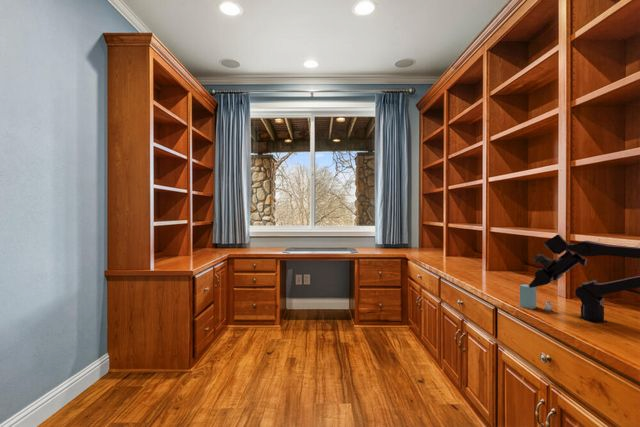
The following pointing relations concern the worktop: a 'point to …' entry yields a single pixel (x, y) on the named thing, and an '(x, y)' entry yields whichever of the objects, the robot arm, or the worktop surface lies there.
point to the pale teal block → (528, 296)
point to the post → (548, 306)
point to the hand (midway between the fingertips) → (532, 285)
